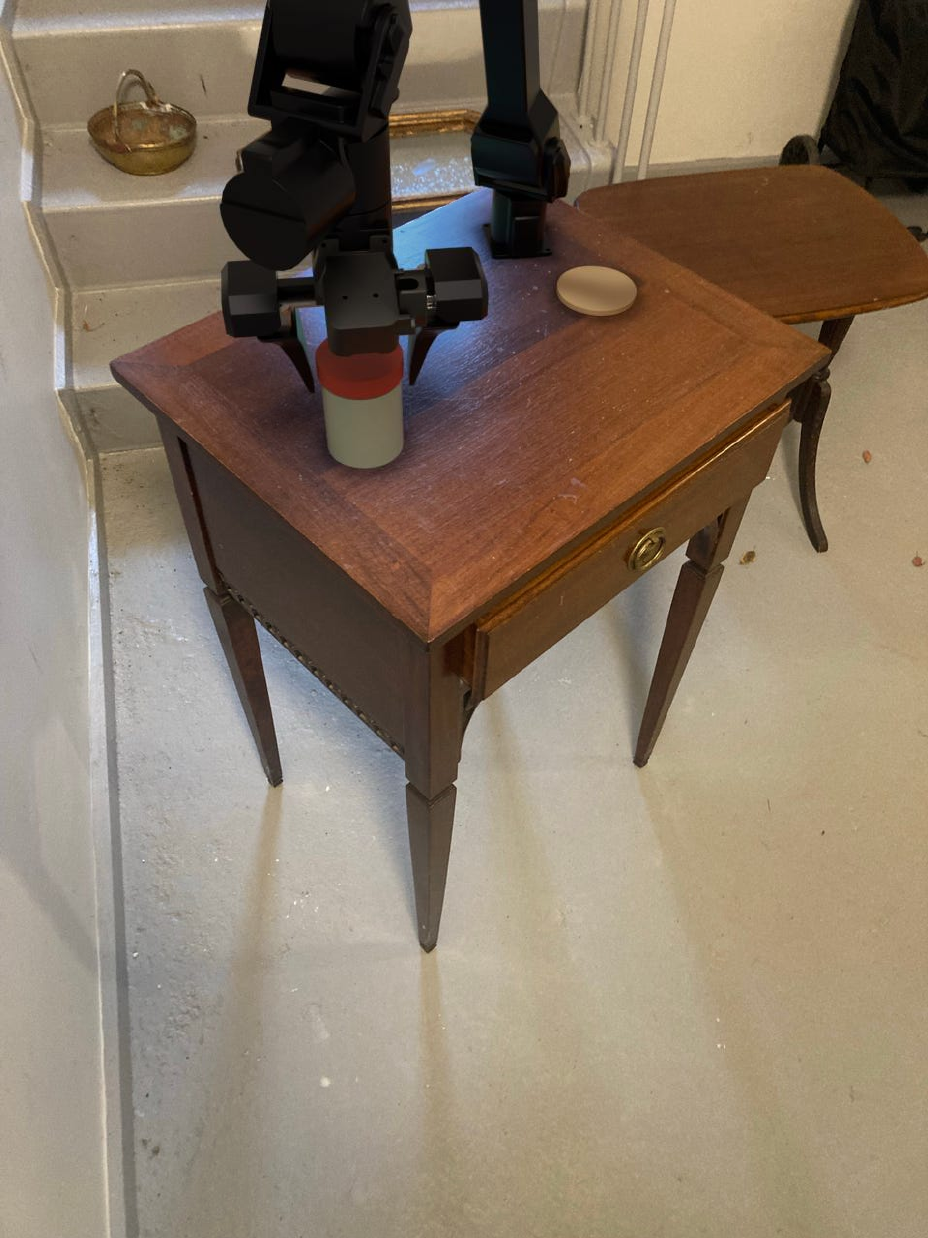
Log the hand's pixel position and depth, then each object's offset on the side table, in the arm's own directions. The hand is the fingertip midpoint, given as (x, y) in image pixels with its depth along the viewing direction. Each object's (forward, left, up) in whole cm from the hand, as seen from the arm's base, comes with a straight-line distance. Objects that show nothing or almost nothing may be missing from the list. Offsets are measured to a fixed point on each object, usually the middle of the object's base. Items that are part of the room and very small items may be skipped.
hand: (362, 386), depth 74 cm
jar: (0, 0, -6) cm, 6 cm away
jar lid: (0, 0, +3) cm, 3 cm away
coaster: (-19, +25, -6) cm, 32 cm away
